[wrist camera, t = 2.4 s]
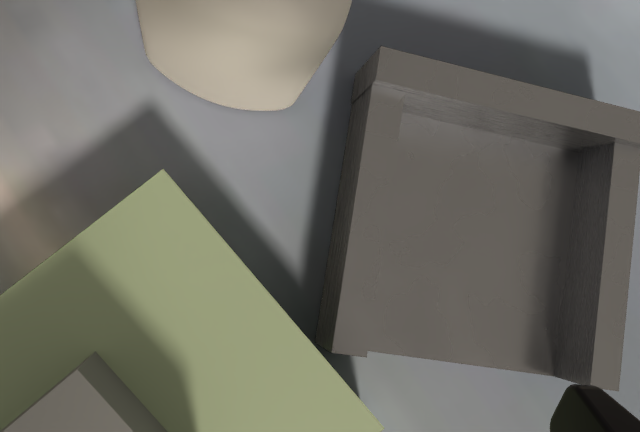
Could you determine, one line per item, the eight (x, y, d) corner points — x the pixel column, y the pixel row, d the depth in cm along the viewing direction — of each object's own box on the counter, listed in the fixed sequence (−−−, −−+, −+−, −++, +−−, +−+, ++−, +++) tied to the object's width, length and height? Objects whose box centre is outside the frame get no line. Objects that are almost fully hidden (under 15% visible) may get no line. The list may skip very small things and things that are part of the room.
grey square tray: (575, 377, 24) (630, 394, 21) (313, 342, 21) (333, 355, 18) (600, 133, 25) (656, 115, 22) (355, 74, 22) (380, 46, 20)
